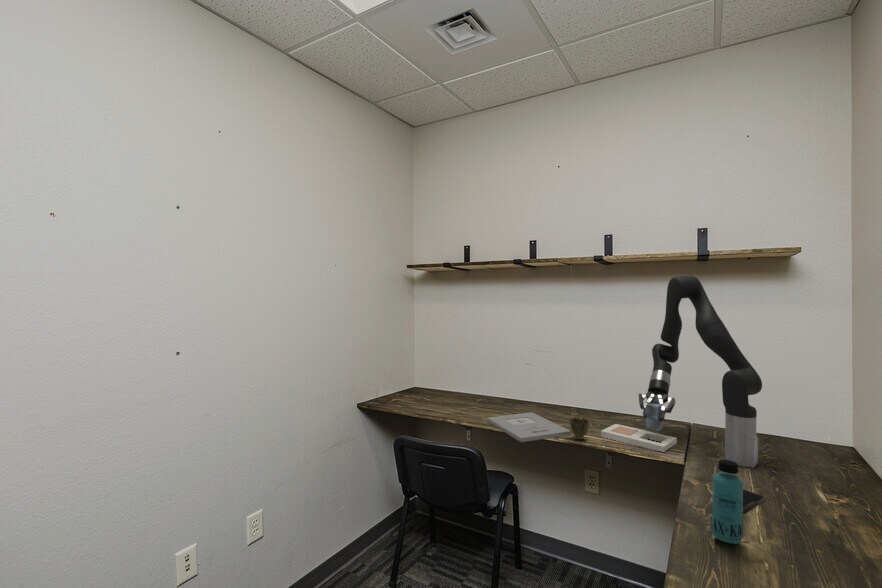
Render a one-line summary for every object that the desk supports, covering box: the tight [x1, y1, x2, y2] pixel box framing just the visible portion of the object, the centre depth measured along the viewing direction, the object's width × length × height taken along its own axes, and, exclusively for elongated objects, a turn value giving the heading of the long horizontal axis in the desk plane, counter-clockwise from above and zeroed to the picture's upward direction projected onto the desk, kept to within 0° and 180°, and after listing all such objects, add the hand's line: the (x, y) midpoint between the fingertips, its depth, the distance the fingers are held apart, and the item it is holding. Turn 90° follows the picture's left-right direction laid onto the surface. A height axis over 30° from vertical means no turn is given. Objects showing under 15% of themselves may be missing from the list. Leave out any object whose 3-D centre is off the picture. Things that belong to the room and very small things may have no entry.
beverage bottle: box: [710, 459, 744, 544], centre depth 106 cm, size 6×7×20 cm
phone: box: [743, 488, 766, 514], centre depth 126 cm, size 8×1×15 cm
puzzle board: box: [600, 423, 678, 453], centre depth 177 cm, size 25×14×3 cm, turn 43°
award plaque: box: [486, 411, 572, 443], centre depth 194 cm, size 25×30×2 cm
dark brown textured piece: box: [569, 417, 590, 441], centre depth 179 cm, size 8×7×8 cm
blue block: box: [645, 403, 663, 432], centre depth 173 cm, size 4×4×10 cm
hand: (652, 418), depth 171 cm, fingers closed on blue block, 5 cm apart
